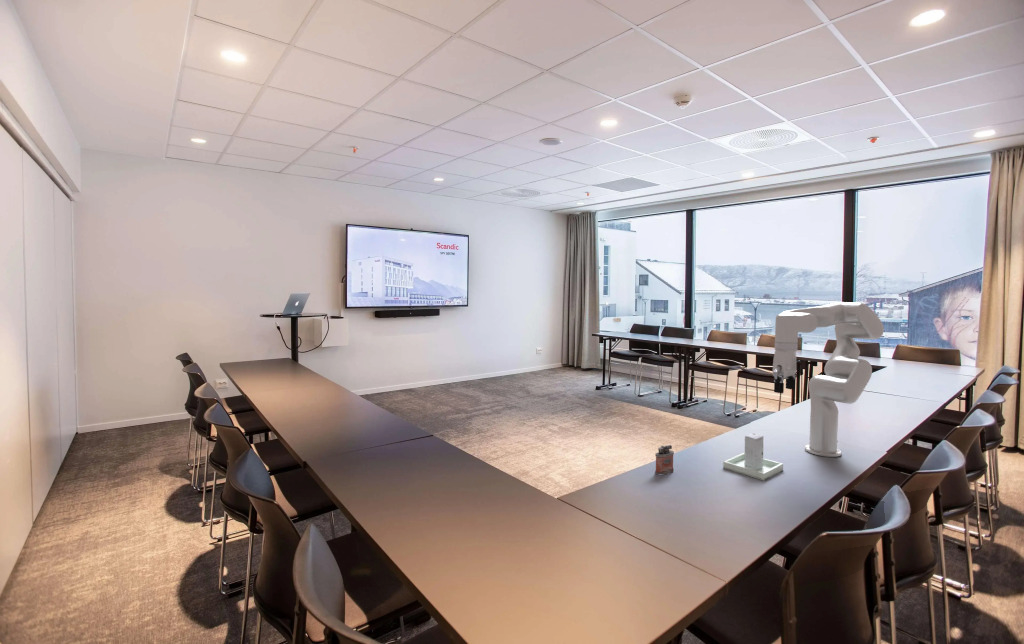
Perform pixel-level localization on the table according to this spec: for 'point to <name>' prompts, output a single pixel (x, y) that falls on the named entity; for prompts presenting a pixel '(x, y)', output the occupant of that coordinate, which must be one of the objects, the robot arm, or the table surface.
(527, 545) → the table surface
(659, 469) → the lighter
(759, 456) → the skincare box
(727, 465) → the sage tray
